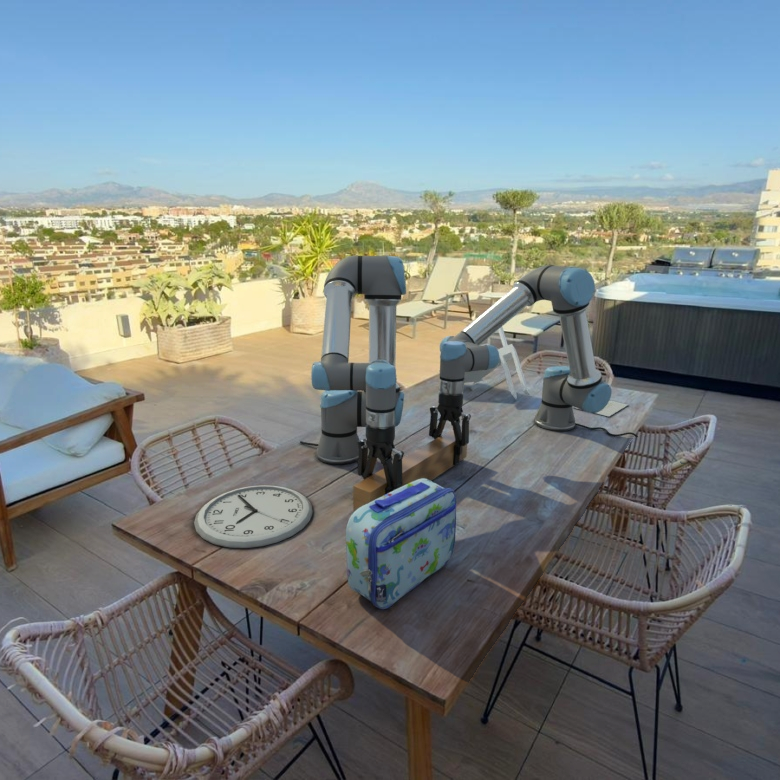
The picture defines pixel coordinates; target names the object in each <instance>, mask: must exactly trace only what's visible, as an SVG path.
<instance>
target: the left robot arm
mask: <svg viewBox="0 0 780 780" xmlns="http://www.w3.org/2000/svg"><path fill="white" fill-rule="evenodd" d="M405 273H406V272H405V266H404V261H403V260H402V258H401V257H399V256H393V255H358V254H357V255H350V256H346V257H344V258H342V259H341V260H339V261H338V262H337V263H336V264H335V265H334V266H332V268H331V269H330V270H329V272H328V273H327V275H326V278H325V280H324V285H323V295H324V297H325V309H324V321H323V331H322V332H323V333H322V342H321V354H320V361H315V362H313V363H312V366H311V370H310V371H311V372H310V373H311V374H310V377H311V378H310V379H311V386H312V388H313V389H314V390H316V391H318V390H319V391H322V393H321V395H320V404H319V407H320V417H321V418H320V419H321V421H320V422H321V423H320V424H321V425H320V427H321V429H320V430H321V434H320V438H319V442H318V443H313V442H306V441H302V440H300V441H299V443H300V444H302V445H306V446H313V447H317V448H316V451H315V452H316V458H317V460H319V461H320V462H322V463H325V464H327V465H328V464H329V465H339V466H341V465H349V464H353V463H355V462H357V475H358V476H360V477H362V479H363V480H364V479H366V478H368V477H370V476H371V475H373V474H374V470H375V467H376V463H377V460H379V461H380V464H381V465H382V469H384V473H385V477H386V481H387V486H388V487H386V488H385V495H386V494H388V493H390V492H392V491H394V490H396V489H397V488H399V487H400V486H402V485H403V480H402V458H403V457H404V456H405V451H403V450H398V449H397V448H396V447H395V443H394V441H395V438H396V427H398V426H399V425H400V423H401V420H402V416H403V409H404V402H405V401H404V400H405V392H404V391H402V390H401V386H400V384H398V383H397V379H398V378H397V368H396V359H397V357H396V355H397V354H396V353H397V352H396V351H397V345H396V344H397V306H398V305H399V304H400V303H401V302H402V296H404V295H406V294H407V286H406V285H407V284H406V274H405ZM356 294H358V295H364V296H363V297H364V300H363V301H364V302H365V303H366V304H367V305H368V308H369V309H368V362H349V361H350V359H349V358H350V338H351V321H352V304H353V303H352V302H353V300H354V299H355V297H356ZM358 428H365V438H363V439H361V440H360V438H359V434H358ZM392 463H393V464H392Z"/></svg>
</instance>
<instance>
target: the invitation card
mask: <svg viewBox="0 0 780 780" xmlns="http://www.w3.org/2000/svg"><path fill="white" fill-rule="evenodd" d="M628 406H629V404H627V403H623V402H618V401H614V400H611V399H610V400H609V402H608V404H607V405H606V406H605V408H604V409H602V410H601V411H600V412H597V413H595V414H596V415H600V416H604V417H608V418H609V417H611V416H613V415H614V414H616V413H617V412H619V411H621V410H623V409H624V408H626V407H628ZM573 409H575V410H581V409H579V408H576V407H574V406H573ZM581 411H582V410H581Z"/></svg>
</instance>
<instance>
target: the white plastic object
mask: <svg viewBox="0 0 780 780" xmlns="http://www.w3.org/2000/svg"><path fill="white" fill-rule="evenodd" d="M497 332H498V335H499V338H500V342H501V345H502V347H500V348H497V350H498V352H499V363H498V365H497V366H496V367H495V368H492V369H488V370H479V371H471V372H465V376H464V384H467V383H468V384H469V383H473V384H477V383H480V382H482V381H484V378H485V377H486V376H487V375H489V374H490V373H492V372H494V371H495V370H496V369H497V368H499V367H500V366H502V370H503V373H504V376H505V380H506V383H507V386H508V390H509V393H510V394H511V395H512V397H513V398H514V399H515V400H517V392H516V391H517V390H516V388H515V385H514V381H513V378H512V375H511V371H510V369H509V365H508V361H510V360H513V363H514V366H515V369H516V372H517V376H518V380H519V382H520V385H521V389H522V391H523V393H524V395H525V396H526V397H528V396H531V395H530V390H529V388H528V387H529V386H528V384H527V381H526V378H525V375H524V371H523V369H522V368H523V367H522V366H521V362H520V359H519V355H518V352H517V349H516V347H515V346H514V345H513V343H511V344H508V341H507V337H506V334H505V331H504V328H503V326H502V327H501V328H499V329H498V330H497ZM484 345H490V344H489V343H488V342H487V343H482V344H480V346H484ZM438 372H439V373H440V369H439V371H438Z"/></svg>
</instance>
